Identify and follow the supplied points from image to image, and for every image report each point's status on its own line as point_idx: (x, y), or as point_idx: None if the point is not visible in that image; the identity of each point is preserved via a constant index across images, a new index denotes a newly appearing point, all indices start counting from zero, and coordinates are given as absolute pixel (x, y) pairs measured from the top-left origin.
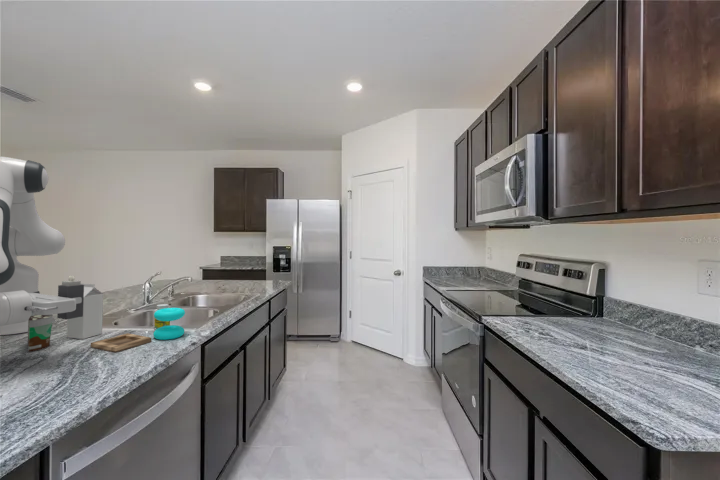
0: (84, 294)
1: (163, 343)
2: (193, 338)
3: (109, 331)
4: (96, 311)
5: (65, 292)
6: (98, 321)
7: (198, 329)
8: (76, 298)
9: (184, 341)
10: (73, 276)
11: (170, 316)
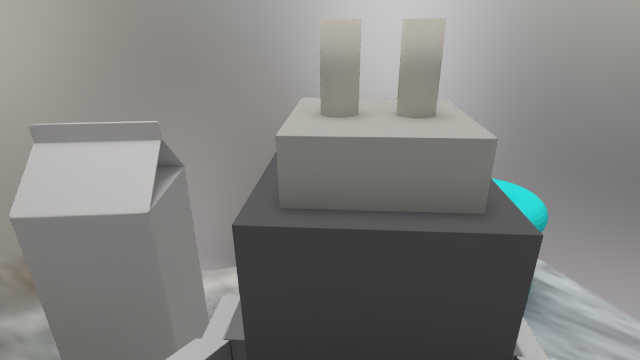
0: (135, 193)
1: (555, 334)
2: (560, 274)
3: (211, 304)
4: (188, 258)
5: (459, 334)
6: (198, 295)
7: None
8: (536, 349)
9: (581, 299)
10: (443, 20)
11: (545, 224)
